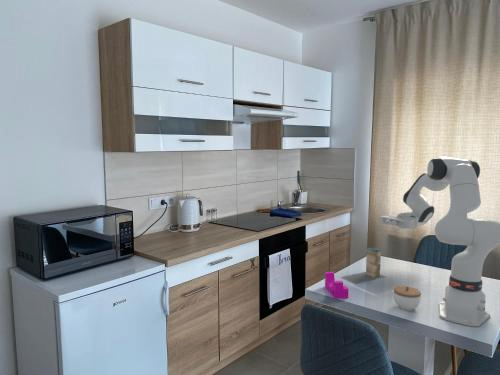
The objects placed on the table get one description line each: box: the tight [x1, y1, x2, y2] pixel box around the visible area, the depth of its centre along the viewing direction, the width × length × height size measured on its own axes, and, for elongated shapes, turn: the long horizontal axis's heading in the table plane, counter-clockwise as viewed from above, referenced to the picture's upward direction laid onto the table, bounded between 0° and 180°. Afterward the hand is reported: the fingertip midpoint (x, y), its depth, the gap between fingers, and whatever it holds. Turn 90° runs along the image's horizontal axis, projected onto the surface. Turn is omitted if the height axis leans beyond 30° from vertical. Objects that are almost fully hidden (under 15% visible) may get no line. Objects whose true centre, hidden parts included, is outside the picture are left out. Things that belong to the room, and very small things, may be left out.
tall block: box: [365, 247, 382, 277], centre depth 201 cm, size 5×5×14 cm
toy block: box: [324, 271, 349, 299], centre depth 178 cm, size 15×6×8 cm, turn 6°
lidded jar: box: [393, 285, 422, 312], centre depth 161 cm, size 11×11×9 cm
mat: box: [340, 271, 387, 285], centre depth 198 cm, size 22×11×1 cm, turn 120°
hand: (387, 222), depth 203 cm, fingers closed
